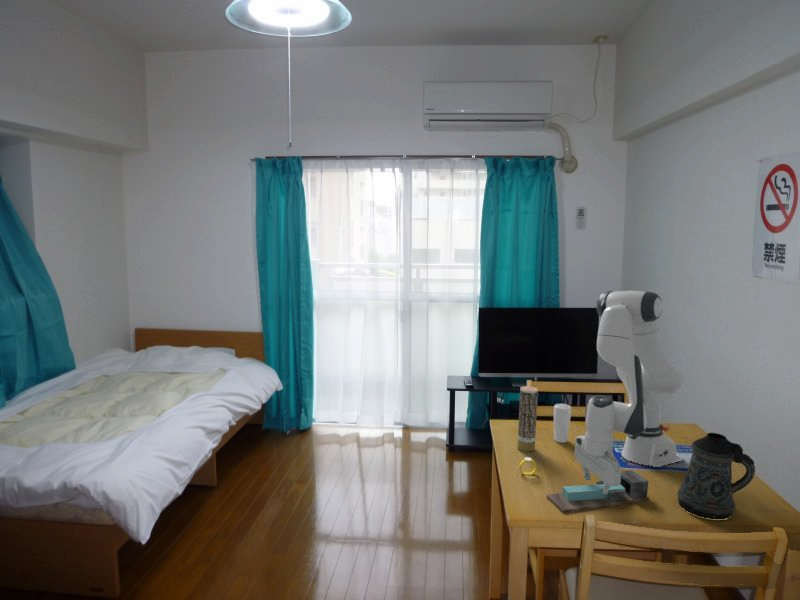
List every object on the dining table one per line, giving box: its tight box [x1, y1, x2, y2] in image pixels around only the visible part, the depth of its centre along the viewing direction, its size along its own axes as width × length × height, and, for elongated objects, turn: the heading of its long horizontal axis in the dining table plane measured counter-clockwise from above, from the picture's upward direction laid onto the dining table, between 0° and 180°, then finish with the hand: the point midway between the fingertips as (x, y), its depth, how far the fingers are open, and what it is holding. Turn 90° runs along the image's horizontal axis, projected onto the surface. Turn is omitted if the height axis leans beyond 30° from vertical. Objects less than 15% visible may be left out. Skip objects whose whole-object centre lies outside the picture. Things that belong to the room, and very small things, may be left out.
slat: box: [561, 484, 625, 501], centre depth 186 cm, size 20×4×3 cm, turn 99°
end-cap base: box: [546, 469, 650, 514], centre depth 186 cm, size 32×10×6 cm, turn 105°
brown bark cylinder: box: [517, 385, 539, 453], centre depth 224 cm, size 7×7×25 cm
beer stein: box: [677, 432, 756, 519], centre depth 180 cm, size 16×19×25 cm
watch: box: [518, 456, 538, 476], centre depth 203 cm, size 6×3×6 cm, turn 89°
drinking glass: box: [553, 403, 572, 444], centre depth 233 cm, size 7×7×15 cm
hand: (595, 485), depth 185 cm, fingers open, 8 cm apart
